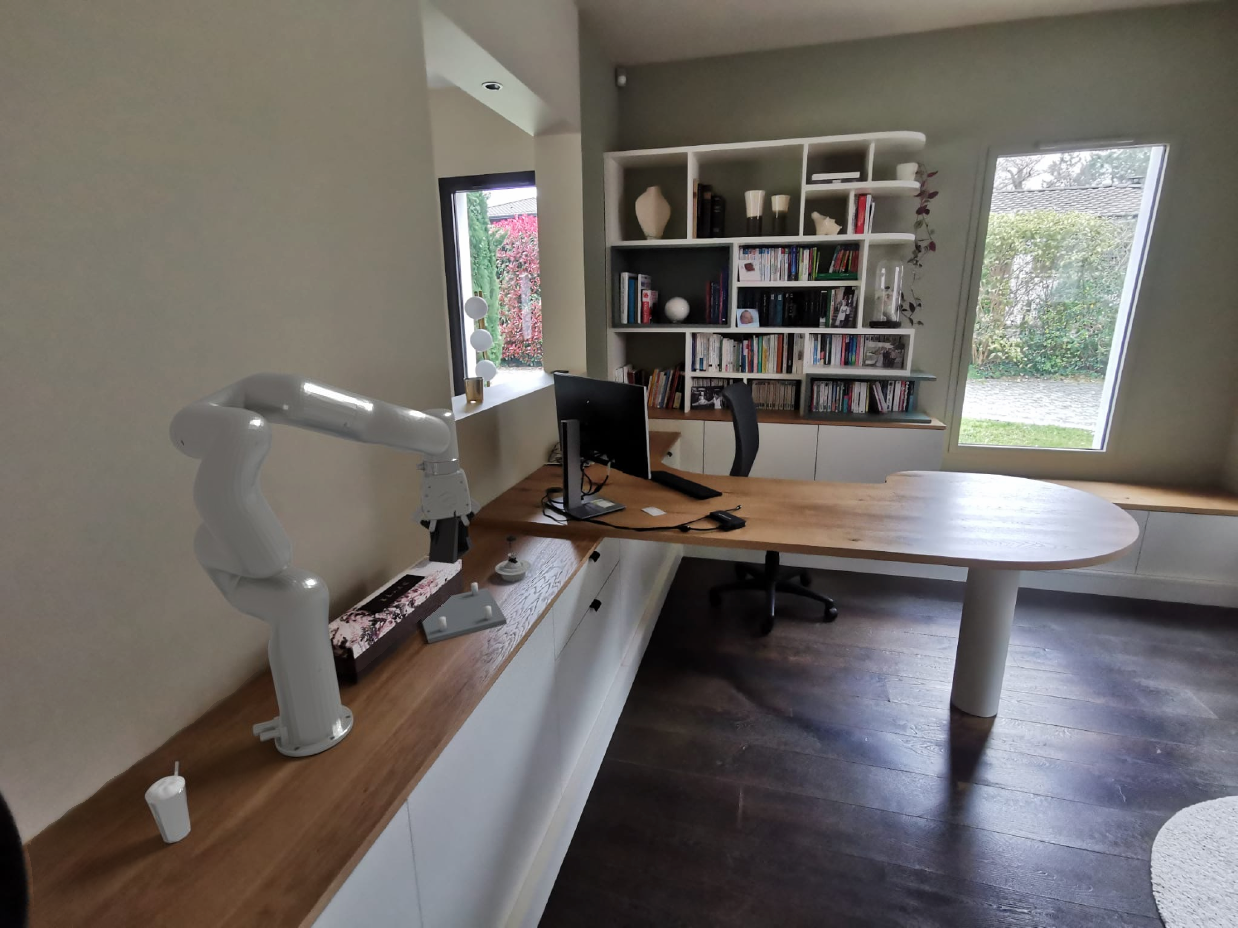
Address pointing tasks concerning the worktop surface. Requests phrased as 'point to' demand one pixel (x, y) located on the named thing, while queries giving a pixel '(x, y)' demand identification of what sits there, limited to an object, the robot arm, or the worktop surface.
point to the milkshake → (170, 807)
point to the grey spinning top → (513, 566)
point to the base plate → (464, 615)
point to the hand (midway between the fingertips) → (450, 542)
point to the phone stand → (449, 541)
